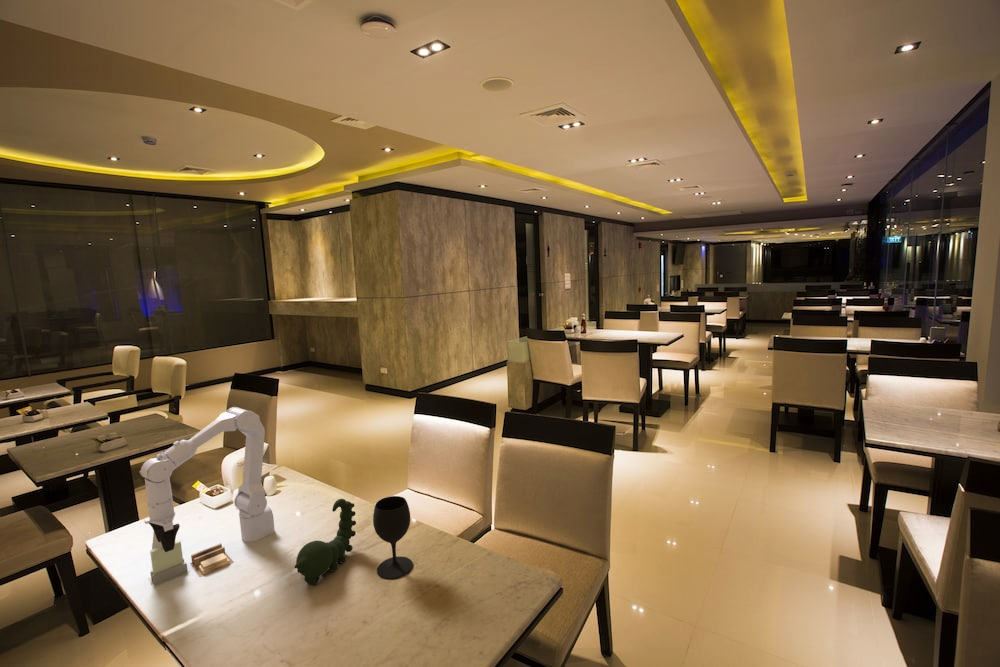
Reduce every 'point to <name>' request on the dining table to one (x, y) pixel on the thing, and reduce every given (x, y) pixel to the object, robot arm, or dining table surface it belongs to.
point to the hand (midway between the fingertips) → (166, 545)
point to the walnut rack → (207, 557)
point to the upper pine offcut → (213, 561)
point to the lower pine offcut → (214, 567)
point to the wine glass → (392, 534)
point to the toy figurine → (327, 547)
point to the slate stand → (168, 574)
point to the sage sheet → (166, 558)
